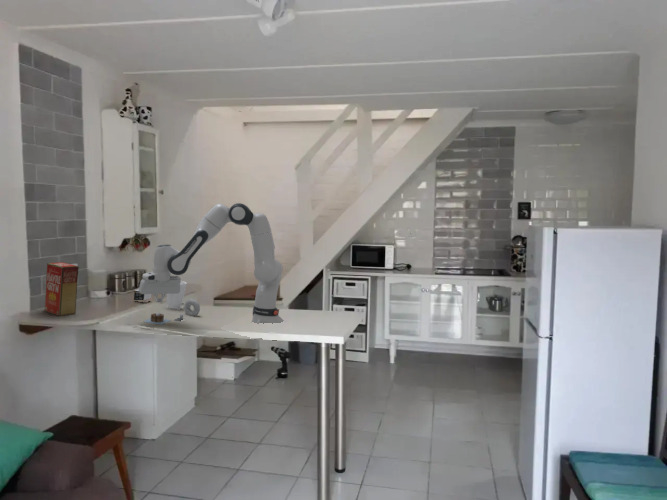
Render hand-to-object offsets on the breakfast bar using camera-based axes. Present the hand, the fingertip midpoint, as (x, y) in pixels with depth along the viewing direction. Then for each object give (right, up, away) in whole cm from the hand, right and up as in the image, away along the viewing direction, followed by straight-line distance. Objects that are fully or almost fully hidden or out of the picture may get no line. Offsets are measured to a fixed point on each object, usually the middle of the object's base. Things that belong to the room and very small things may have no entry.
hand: (158, 302), depth 254 cm
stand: (+9, -12, +9) cm, 17 cm away
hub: (-1, -11, +1) cm, 11 cm away
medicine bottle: (-25, -4, +42) cm, 49 cm away
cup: (-3, -8, +33) cm, 34 cm away
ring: (-1, -10, +1) cm, 10 cm away
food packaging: (-51, -5, -1) cm, 51 cm away
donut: (+10, -11, +22) cm, 26 cm away
